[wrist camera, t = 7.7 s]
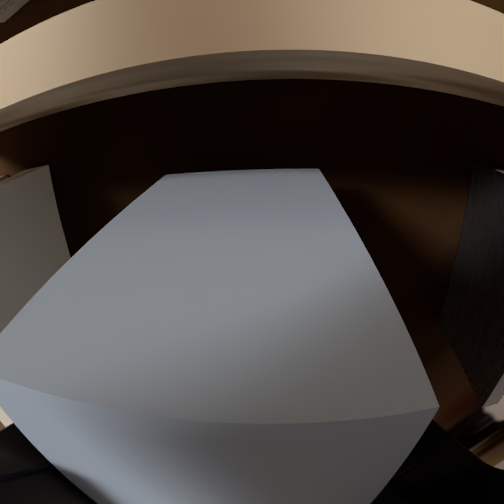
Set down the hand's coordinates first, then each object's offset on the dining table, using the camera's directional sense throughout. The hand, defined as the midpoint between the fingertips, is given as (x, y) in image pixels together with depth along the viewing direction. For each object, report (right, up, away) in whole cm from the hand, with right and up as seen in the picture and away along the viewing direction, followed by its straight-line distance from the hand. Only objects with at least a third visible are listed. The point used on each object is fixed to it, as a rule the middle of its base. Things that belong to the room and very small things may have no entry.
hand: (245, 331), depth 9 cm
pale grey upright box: (0, +1, +1) cm, 2 cm away
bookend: (+10, +2, +2) cm, 11 cm away
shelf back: (0, +8, 0) cm, 8 cm away
